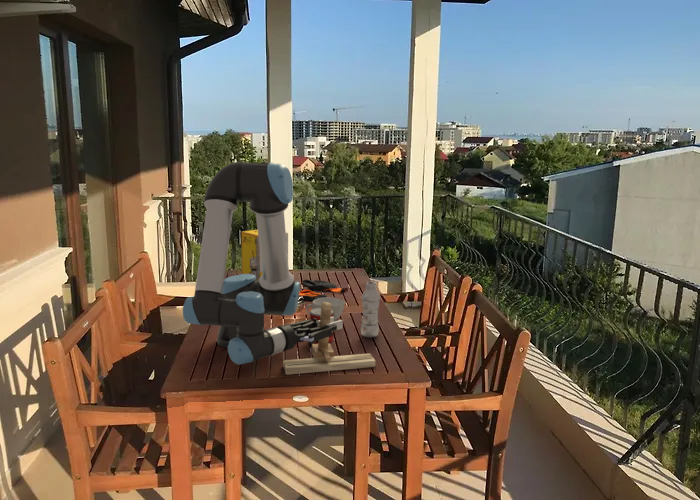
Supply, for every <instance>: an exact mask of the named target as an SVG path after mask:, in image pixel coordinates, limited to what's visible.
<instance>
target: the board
mask: <svg viewBox="0 0 700 500" xmlns="http://www.w3.org/2000/svg"><path fill="white" fill-rule="evenodd" d="M282 363H283V369H284V373H285V375H295V374H296V375H298V374H308V373H318V372H321V373H322V372H333V371H341V370H354V369H366V368H374V367H376V363H377V361H376V360H375V358H374V357H373V355H372V354H371V353H361V354H360V353H357V354H349V355H347V354H345V355H334V356H332V357H331V361H325V358H324V357H320V358H313V357H310V358H299V359H298V358H296V359H285V360H283V361H282Z"/></svg>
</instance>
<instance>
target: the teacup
mask: <svg viewBox="0 0 700 500" xmlns="http://www.w3.org/2000/svg"><path fill="white" fill-rule="evenodd" d="M323 302H328V303H331V304H332V308H331V310H333V317H334V322H335V321H338V320H339V318H340V316H342V313H343V312H344V309H345V304H346V301H345V300H343V299H340V298H339V297H334V296H333V297H332V296H331V297H330V296H329V297H328V296H327V297H324V298H318V299H314V301H312V303H308V304H307V306H306V309H305V311H306V312H307V314H308V315H310V312H311V311H309V308H312V309H315V308H321V305H322V303H323Z"/></svg>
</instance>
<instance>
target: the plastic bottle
mask: <svg viewBox="0 0 700 500" xmlns="http://www.w3.org/2000/svg"><path fill="white" fill-rule="evenodd" d="M365 288H366V289H365V291H364V292H363V293H362V296H361V300H362V301H361V302H362V321H361V325H360V333H361V335H362V337H364V338H375V337H377V336H378V334H379V331H380V327H379V317H378V315H379V306H380V301H381V300H380V299H381V295H380V293H379V292H378V290H377V288H378V287H377V282H375V281H366V283H365Z"/></svg>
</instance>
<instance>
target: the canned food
mask: <svg viewBox="0 0 700 500" xmlns="http://www.w3.org/2000/svg"><path fill="white" fill-rule="evenodd" d="M309 312H310V314H309V315H310V316H309V320H311V321H313V319H314V318H316V321H318V320H320V317H321V308H315V309H313V308H312V309H311V310H310V311H309ZM331 317H333V310H331ZM316 328H317V327H316ZM333 336H334V331H332V332H331V336H329V341H328V344H331V343H332V342H333V340H334V337H333ZM313 344H318V341H315V342H314V343H313Z"/></svg>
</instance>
